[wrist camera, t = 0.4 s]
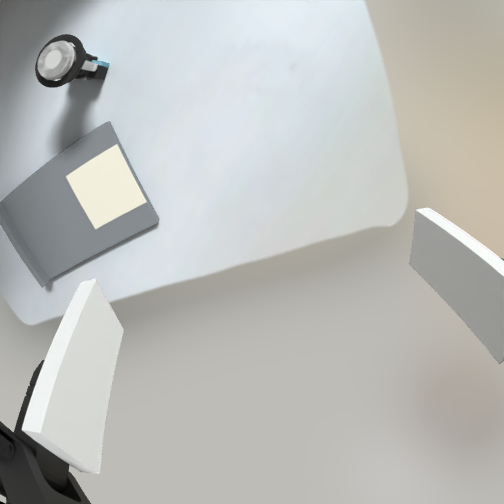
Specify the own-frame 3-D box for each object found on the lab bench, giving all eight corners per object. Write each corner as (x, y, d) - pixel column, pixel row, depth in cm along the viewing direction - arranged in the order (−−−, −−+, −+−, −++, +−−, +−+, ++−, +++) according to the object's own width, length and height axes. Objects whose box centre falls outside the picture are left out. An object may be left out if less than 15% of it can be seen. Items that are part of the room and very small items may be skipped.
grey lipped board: (2, 201, 30) (-8, 208, 27) (109, 121, 29) (102, 123, 26) (49, 277, 37) (42, 287, 34) (159, 219, 36) (156, 227, 33)
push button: (58, 85, 25) (14, 85, 16) (71, 46, 23) (30, 33, 14) (103, 91, 27) (67, 89, 18) (117, 50, 25) (86, 33, 16)
